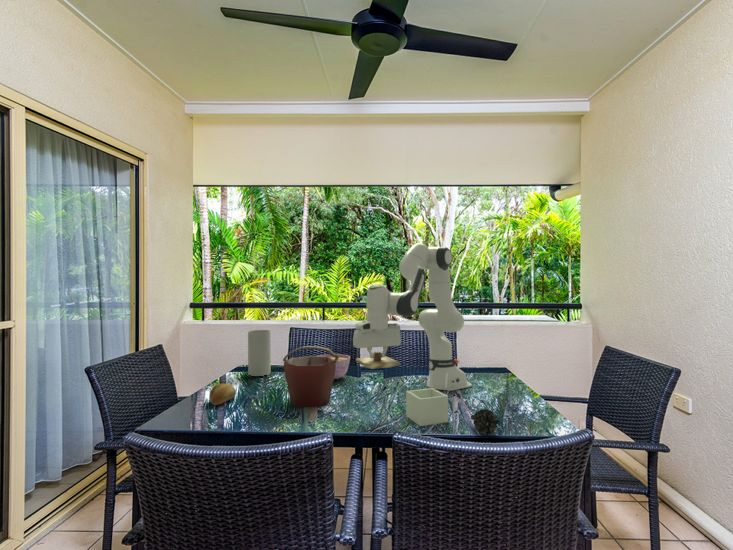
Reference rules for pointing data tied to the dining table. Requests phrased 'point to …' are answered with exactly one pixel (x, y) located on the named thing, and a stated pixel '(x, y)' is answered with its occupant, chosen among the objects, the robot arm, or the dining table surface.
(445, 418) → the bin
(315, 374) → the bucket
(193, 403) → the dining table surface
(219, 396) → the bread roll
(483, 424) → the pine cone
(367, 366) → the lid
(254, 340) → the cylinder vase
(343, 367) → the bowl of food
